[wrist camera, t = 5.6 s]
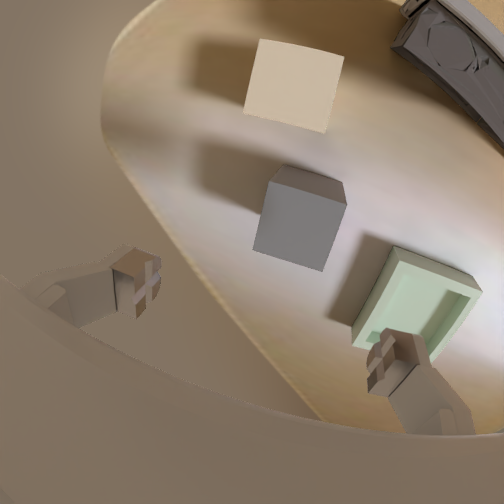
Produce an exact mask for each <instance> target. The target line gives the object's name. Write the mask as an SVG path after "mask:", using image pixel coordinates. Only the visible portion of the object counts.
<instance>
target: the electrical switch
mask: <svg viewBox="0 0 504 504" xmlns="http://www.w3.org/2000/svg"><path fill="white" fill-rule="evenodd" d="M399 11H400V13H401V14H402V16H404V17H405V18H407V19H408V21H407V22H406V24H405V25H404V26H403V28H402V29H401V30H400V32H399V33H398V36H397V37H396V39H395V40H394V42H393V44H392V45H391V47H390V48H391V49H393V50H394V51H395V52H397V53H398V54H400V55H401V56H402V57H404V58H405V59H406V60H408V61H409V62H410V63H412V64H413V65H414V66H415V67H417V68H418V69H419V70H421V71H422V72H423V73H424V74H425V75H427V76H428V77H429V78H430V79H431V80H433V81H434V82H435V83H436V84H437V85H438V86H439V87H441V88H442V89H443V90H444V91H445V92H446V93H447V94H448V95H449V96H450V97H451V98H452V99H454V100H455V101H456V102H457V103H458V104H459V105H460V106H461V107H462V108H463V109H464V110H465V111H466V112H467V113H468V114H469V115H470V117H471V118H472V119H473V120H474V121H475V122H476V123H477V121H478V120H479V119H480V118H481V117H482V118H481V119H480V120H479V122H478V123H477V125H478V126H480V127H481V128H482V129H483V130H484V131H485V132H486V133H487V134H488V135H490V136H491V137H492V138H493V139H494V140H495V141H496V142H497V143H498V144H499V145H500V146H501V147H502V148H503V149H504V35H503V34H502V33H501V32H500V31H499V30H498V29H497V28H496V27H495V26H494V25H493V24H492V23H491V22H490V21H489V20H488V19H487V18H486V17H485V16H484V15H483V14H482V13H481V12H480V11H479V10H477V9H476V8H475V7H474V6H473V5H472V4H471V3H469V2H468V1H467V0H406V1H405V3H404V4H403V5H402V7H401V8H400V9H399ZM437 62H438V63H437ZM421 64H422V65H421ZM455 90H456V92H457V93H456V92H455ZM457 94H458V95H457ZM463 102H464V103H463Z"/></svg>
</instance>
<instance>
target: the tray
mask: <svg viewBox="0 0 504 504" xmlns="http://www.w3.org/2000/svg"><path fill="white" fill-rule="evenodd" d="M482 292H483V291H482V290H481V288H480V287H479V285H478V284H477V282H476V281H475V279H474V278H473V276H470V275H468V274H465V273H463V272H460V271H458V270H456V269H453V268H451V267H448V266H446V265H443V264H441V263H438V262H435V261H433V260H430V259H428V258H425V257H423V256H420V255H417V254H415V253H412V252H409V251H407V250H404V249H401V248H399V247H396V246H393V248H392V250H391V252H390V254H389V256H388V259H387V261H386V263H385V265H384V267H383V269H382V271H381V273H380V275H379V277H378V279H377V281H376V283H375V285H374V287H373V289H372V291H371V293H370V295H369V297H368V299H367V300H366V302H365V304H364V306H363V308H362V310H361V311H360V313H359V315H358V317H357V319H356V320H355V322H354V324H353V326H352V346H355V347H359V348H363V349H367V350H371V348H372V346H373V345H374V344H375V343H377V342H379V341H380V334H381V333H382V331H383V330H384V329H385V328H386V327H387V328H391V329H395V330H399V331H403V332H407V333H413V334H417V335H421V336H422V337H423V338H424V341H425V344H426V348H427V351H428V355H429V358H430V362H431V363H432V362H433V361H434V360H435V358H436V357H437V356H438V355H439V353H440V352H441V351H442V350H443V348H444V347H445V346H446V345H447V343H448V342H449V341H450V339H451V338H452V337H453V335H454V334H455V333H456V331H457V330H458V329H459V327H460V326H461V324H462V323H463V321H464V320H465V319H466V317H467V316H468V314H469V313H470V311H471V310H472V308H473V307H474V305H475V304H476V302H477V300H478V299H479V297H480V296H481V294H482Z"/></svg>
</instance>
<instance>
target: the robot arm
mask: <svg viewBox="0 0 504 504" xmlns="http://www.w3.org/2000/svg"><path fill="white" fill-rule="evenodd" d="M160 268H161V258H160V257H159V256H157V255H154V254H151V253H149V252H147V251H144V250H141V249H138V248H136V247H133V246H131V245H128V244H122V245H121V246H120V247H118V248H117V249H116V250H114V251H113V252H112V253H110V254H109V255H108V256H106V257H105V258H104V259H102V260H101V261H100V262H98V263H97V262H90V263H85V264H80V265H76V266H71V267H66V268H61V269H57V270H52V271H48V272H43V273H40V274H38V275H37V276H36V277H34V278H33V279H32V280H30V281H29V282H28V283H26V284H25V285H24V286H22V287H21V288H20V289H19V288H18V287H16V286H15V285H14V284H12V283H11V282H10V281H8V280H7V279H5V277H3V276H2V275H1V274H0V504H504V433H497V434H483V435H476V433H475V428H474V423H473V419H472V415H471V411H470V409H469V408H468V406H467V405H466V404H465V403H464V402H463V400H462V399H461V398H460V397H459V396H458V394H457V393H456V392H455V391H454V390H453V388H452V387H451V386H450V385H449V384H448V382H447V381H446V380H445V379H444V378H443V377H442V375H441V374H440V373H439V372H438V371H437V370H436V369H435V368H432V365H431V362H430V358H429V355H428V351H427V348H426V344H425V341H424V338H423V337H422V336H421V335H417V334H413V333H407V332H403V331H399V330H395V329H391V328H387V327H386V328H385V329H384V330H383V331H382V333H381V334H380V341H379V342H377V343H375V344H374V345H373V346H372V348H371V350H370V352H369V354H368V357H367V363H366V364H367V370H368V371H369V373H370V376H369V377H368V378H367V383H368V393H369V394H374V395H379V396H384V397H389V398H388V400H389V402H390V403H391V405H392V407H393V409H394V411H395V413H396V414H397V416H398V418H399V420H400V422H401V424H402V426H403V427H404V429H405V431H406V433H407V434H405V433H394V432H384V431H376V430H368V429H361V428H354V427H348V426H342V425H337V424H331V423H326V422H321V421H316V420H311V419H307V418H303V417H298V416H294V415H290V414H286V413H282V412H278V411H275V410H271V409H268V408H264V407H261V406H257V405H254V404H250V403H247V402H244V401H241V400H238V399H235V398H232V397H229V396H226V395H223V394H220V393H217V392H214V391H211V390H209V389H206V388H203V387H201V386H198V385H195V384H193V383H190V382H188V381H185V380H183V379H180V378H178V377H175V376H173V375H171V374H168V373H166V372H164V371H161V370H159V369H157V368H155V367H153V366H150V365H148V364H146V363H144V362H142V361H140V360H138V359H135V358H133V357H131V356H129V355H127V354H125V353H123V352H121V351H119V350H117V349H115V348H114V347H112V346H110V345H108V344H106V343H104V342H102V341H100V340H99V339H97V338H95V337H93V336H91V335H90V334H88V333H86V332H85V331H83V330H81V329H79V328H80V327H82V326H85V325H87V324H90V323H92V322H94V321H97V320H99V319H102V318H104V317H106V316H109V315H111V314H114V313H116V312H117V311H118V312H120V313H122V314H125V315H127V316H129V317H132V318H134V319H137V318H138V317H139V316H140V315H141V314H142V312H143V311H144V310H145V309H146V303H148V302H151V301H153V300H154V298H155V297H156V296H157V293H158V291H159V288H160V284H161V277H160V275H159V273H158V270H159V269H160Z"/></svg>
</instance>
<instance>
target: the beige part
mask: <svg viewBox="0 0 504 504" xmlns="http://www.w3.org/2000/svg"><path fill="white" fill-rule="evenodd" d="M343 60H344V56H340V55H337V54H333V53H329V52H326V51H322V50H318V49H313V48H309V47H305V46H300V45H295V44H290V43H284V42H279V41H273V40H266V39H260V40H259V45H258V49H257V53H256V57H255V61H254V65H253V70H252V74H251V78H250V83H249V87H248V92H247V96H246V101H245V105H244V110H243V114H248V115H253V116H257V117H262V118H266V119H271V120H275V121H279V122H283V123H287V124H291V125H295V126H299V127H302V128H306V129H309V130H313V131H316V132H320V133H323V134H325V131H326V128H327V124H328V120H329V116H330V113H331V109H332V105H333V101H334V97H335V93H336V89H337V85H338V81H339V77H340V73H341V69H342V65H343Z"/></svg>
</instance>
